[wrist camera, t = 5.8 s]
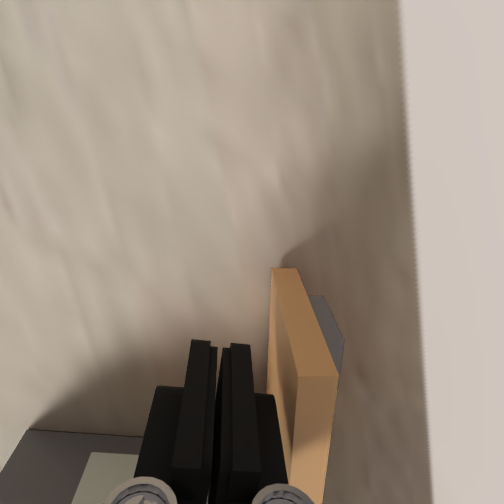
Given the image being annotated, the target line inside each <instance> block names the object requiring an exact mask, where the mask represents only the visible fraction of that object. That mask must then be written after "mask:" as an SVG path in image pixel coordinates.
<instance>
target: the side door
mask: <svg viewBox="0 0 504 504" xmlns="http://www.w3.org/2000/svg"><path fill="white" fill-rule="evenodd" d="M343 346H344V338H343V336H342V334H341V332H340V330H339V328H338V325H337V323H336V321H335V319H334V317H333V315H332V313H331V311H330V309H329V306H328V304H327V302H326V300H325V298H324V296H307V293H306V291H305V288H304V286H303V283H302V281H301V278H300V276H299V273H298V270H297V268H272V273H271V297H270V320H269V344H268V367H267V391H266V394H272V395H274V397H275V401H276V407H277V413H278V420H279V426H280V433H281V439H282V445H283V452H284V458H285V465H286V471H287V478H288V484H289V485H291V486H293V487H296V488H298V489H300V490H301V491H302V492H304V493H305V494H307V495H308V496H309V498H310V499H311V500H312V501H313V502H314V503H315V504H322V501H323V493H324V486H325V478H326V470H327V463H328V455H329V448H330V440H331V433H332V425H333V417H334V410H335V402H336V395H337V388H338V384H339V377H340V369H341V361H342V354H343Z"/></svg>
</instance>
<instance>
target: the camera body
mask: <svg viewBox="0 0 504 504" xmlns="http://www.w3.org/2000/svg"><path fill="white" fill-rule="evenodd" d="M142 441H143V438H142V437H127V436H112V435H98V434H83V433H68V432H54V431H39V430H27V431H26V432H25V434H24V435H23V437H22V439H21V440H20V442H19V444H18V445H17V447H16V449H15V450H14V452H13V453H12V455H11V457H10V458H9V460H8V462H7V463H6V465H5V466H4V468H3V470H2V471H1V473H0V504H103V502H104V501H105V499H106V498H107V496H108V495H109V493H110V492H111V491H113V490H114V489H115V488H116V487H117V486H118V485H120V484H121V483H123V482H125V481H127V480H129V479H133V477H134V473H135V469H136V465H137V461H138V457H139V453H140V449H141V445H142ZM207 502H208V497H207Z"/></svg>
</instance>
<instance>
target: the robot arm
mask: <svg viewBox="0 0 504 504" xmlns="http://www.w3.org/2000/svg"><path fill="white" fill-rule="evenodd" d="M210 343H211V341H204V340H193V339H192V341H191V347H190V353H189V359H188V366H187V372H186V379H185V385H184V388H183V387H170V386H157V387H156V391H155V394H154V398H153V402H152V406H151V410H150V414H149V418H148V422H147V426H146V430H145V434H144V438H143V441H142V445H141V449H140V453H139V457H138V461H137V465H136V469H135V473H134V477H133V479H129V480H127V481H125V482H123V483H121V484H120V485H118V486H117V487H116V488H115V489H114V490H113V491H111V492H110V493H109V495H108V496H107V498H106V499H105V501H104V502H103V504H315V503H314V502H313V501H312V500H311V499H310V498H309V496H308V495H307V494H305V493H304V492H302V491H301V490H300V489H298V488H296V487H293V486H291V485H289V484H288V478H287V471H286V465H285V458H284V452H283V445H282V439H281V433H280V426H279V420H278V413H277V407H276V401H275V397H274V395H272V394H260V393H254V383H253V372H252V360H251V349H250V345H248V344H237V343H231V345H230V348H223V350H222V357H221V364H220V371H219V378H218V385H217V392H216V371H217V350H218V347H213V346H210ZM215 393H216V398H215ZM207 497H208V502H207Z"/></svg>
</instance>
